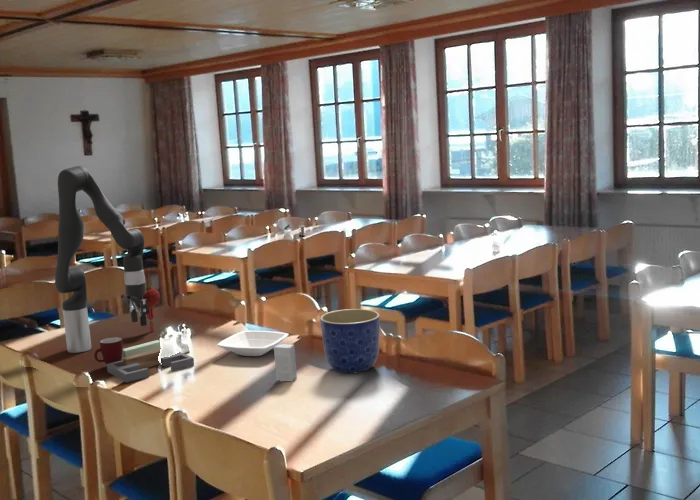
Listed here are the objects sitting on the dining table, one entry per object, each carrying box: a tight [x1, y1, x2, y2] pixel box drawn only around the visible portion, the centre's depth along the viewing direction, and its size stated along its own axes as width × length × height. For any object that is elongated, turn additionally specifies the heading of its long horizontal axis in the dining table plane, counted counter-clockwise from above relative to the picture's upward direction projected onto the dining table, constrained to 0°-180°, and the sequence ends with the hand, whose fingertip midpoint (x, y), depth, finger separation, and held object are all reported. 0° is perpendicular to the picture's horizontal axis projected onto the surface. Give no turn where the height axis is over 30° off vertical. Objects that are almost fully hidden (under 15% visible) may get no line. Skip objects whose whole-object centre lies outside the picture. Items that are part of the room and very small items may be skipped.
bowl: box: [216, 330, 289, 357], centre depth 311 cm, size 22×23×6 cm
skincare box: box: [273, 343, 298, 382], centre depth 277 cm, size 6×4×12 cm
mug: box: [93, 336, 124, 366], centre depth 303 cm, size 11×8×10 cm
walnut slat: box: [123, 348, 161, 369], centre depth 302 cm, size 4×16×5 cm, turn 134°
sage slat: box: [122, 339, 161, 360], centre depth 314 cm, size 4×16×5 cm, turn 134°
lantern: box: [143, 263, 161, 333], centre depth 350 cm, size 10×10×30 cm
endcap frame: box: [106, 351, 195, 384], centre depth 299 cm, size 18×26×3 cm
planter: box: [319, 308, 381, 374], centre depth 285 cm, size 21×21×19 cm
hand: (139, 323), depth 312 cm, fingers open, 8 cm apart
